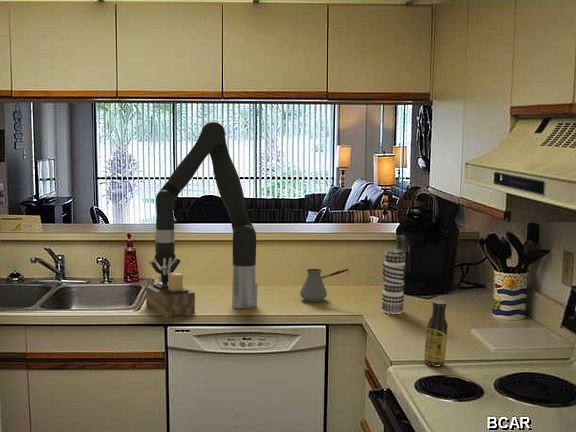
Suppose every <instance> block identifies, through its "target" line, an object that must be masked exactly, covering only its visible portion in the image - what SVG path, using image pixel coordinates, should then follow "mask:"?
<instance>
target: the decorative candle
mask: <svg viewBox="0 0 576 432" xmlns="http://www.w3.org/2000/svg"><path fill="white" fill-rule="evenodd" d="M384 255H385V257H384V263H382V266H383V268H382V275H383V276H382V279H383V280H382V283H383V285H384V286H383V293H382V302H381V305H382V306H381V309H382V310H383V311H385V312H388V313H399V312H401V311H403V310H404V301H405V300H404V298H405V295H404V285H405V280H406V277H405V276H407V275H406V273H405V272H406V271H407V269H406V267H407V265H406V263H405V262H406V261H405V257H406V254H405V253H404V252H403V250H401V249H397V248H394V249H393V248H391V249H388V250H387V251H386V252H385V253H384Z"/></svg>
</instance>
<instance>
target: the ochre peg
mask: <svg viewBox="0 0 576 432" xmlns="http://www.w3.org/2000/svg"><path fill="white" fill-rule="evenodd" d="M183 277H184V276H183V274H182V273H179V272H173V273H171V274H168V290H170V291H180V290H183V285H184V284H183V282H184V281H183Z"/></svg>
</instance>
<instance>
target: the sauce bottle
mask: <svg viewBox="0 0 576 432" xmlns="http://www.w3.org/2000/svg"><path fill="white" fill-rule="evenodd" d="M446 308H447V302H446V301H443V300H433V301H432V313H431V317H430V319H429V320H428V323H427V327H426V334H425V343H424V344H425V345H424V356H423V358H424V360H425V361H424V363H425V362H426V363H427V364H430V365H442V364H443V365H444V363H445V361H446V349H447V340H448V339H447V338H448V328H449V326H448V322H447V320H446ZM426 363H425V364H426ZM427 364H426V365H427ZM430 365H429V366H430ZM443 365H442V366H443Z"/></svg>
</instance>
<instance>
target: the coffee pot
mask: <svg viewBox="0 0 576 432" xmlns="http://www.w3.org/2000/svg"><path fill="white" fill-rule="evenodd" d="M306 272H307V276H306V278H305V279H304V280H305V281H304V283H303V285H302V286H301V289H300V291H299V295H300V297H301V298H302V299H303V300H304V301H305V300H306V301H305V302H308V301H309V303H321V302H323V300H324V299H326V298H327V296H328V291H327V289H326V287H325V284H324V282H323V280H322V279H325V278H328V277H333V276H337V275H339V274H342V273H345V272H347V274H348V275H350V273H351V272H350V270H349V268H345V269H342V270H337V271H335V272H332V273H329V274H327V275H322V276H321V274H322V272H323V271H322V269H320V268H308V269H306ZM320 301H321V302H320Z"/></svg>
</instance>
